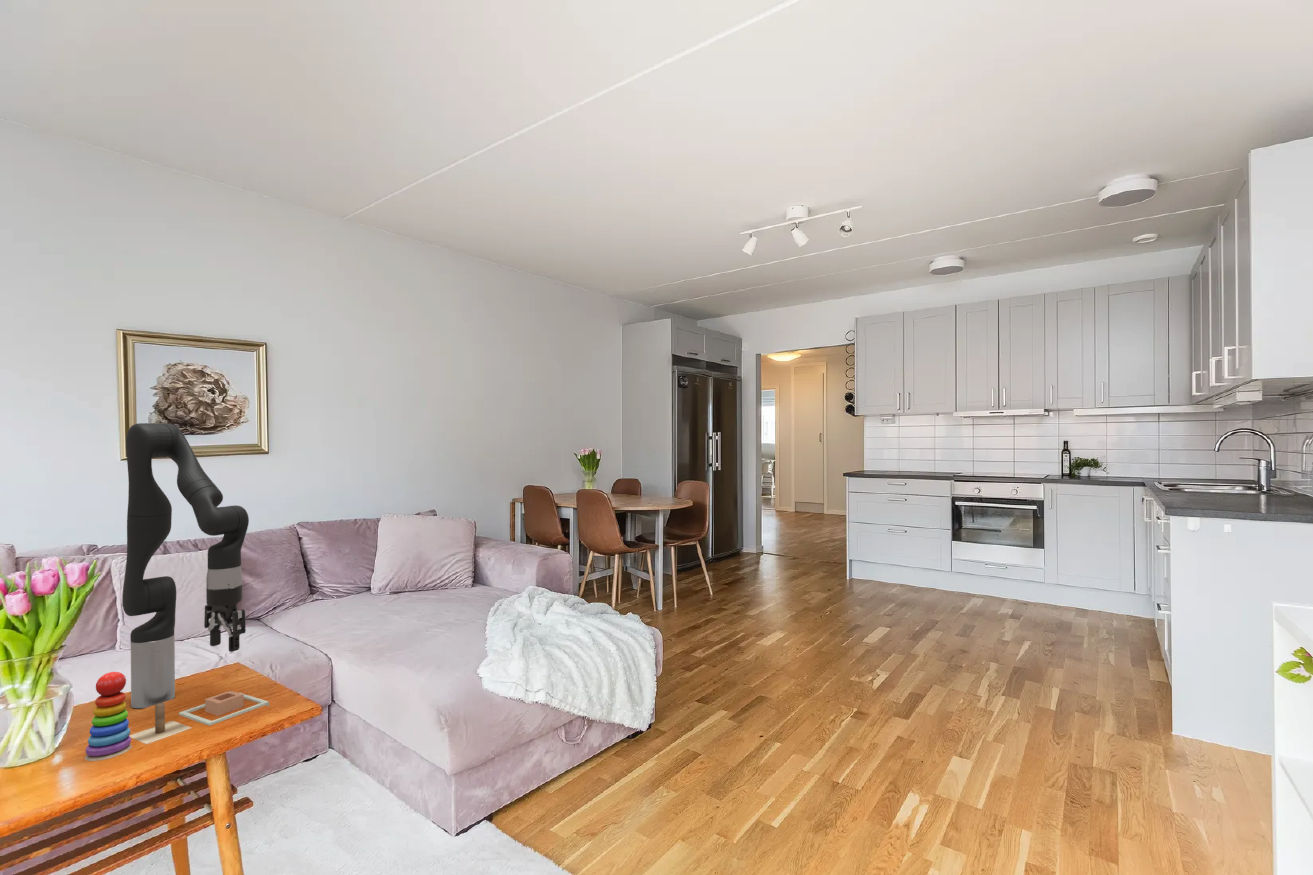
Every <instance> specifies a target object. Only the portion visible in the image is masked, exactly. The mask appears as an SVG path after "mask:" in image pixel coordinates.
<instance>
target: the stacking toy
mask: <svg viewBox="0 0 1313 875" xmlns="http://www.w3.org/2000/svg"><path fill="white" fill-rule="evenodd" d="M126 684H127V678H126V676H125V675H124V674H123V673H122V672H119V671H109V672H106V673H104V674H103V675H102V676H100V677H99V678H98V680H97V681H96V684H95V691H96V692H97V693H98V695H99V696H98V697H96V699H95V700H94V701H95V702H94V704H95V706H96V707H95V708H93V712H92V713H93V717H92V719H91V723H92V726H91V727H90V729H89V734H90V735H89V737H88V739H87V743H88V745H87V746H86V748H85V756H84V760H86V761H87V762H97V761H104V760H107V759H112V758H116V757H117V756H120V755H123V754H125V753H126V752H128V751H130V750H131V749H132V744H131V743H132V738H131V737H130V736H129V735H131V734H130V733H131V728H130V727H129V724H130V721H129V719H128V715H129V712H128V711H127V710H126V708H127V702H125V700H126V697H127V696H126V694H125V692H123V691H122V690H124V688H125V686H126Z"/></svg>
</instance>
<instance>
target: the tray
mask: <svg viewBox="0 0 1313 875" xmlns="http://www.w3.org/2000/svg"><path fill="white" fill-rule="evenodd" d="M237 693H240V694H244V700H246V701H249V702H253V703H256V704H254V705H252V706H249V707H246V708H244V709H240V710H239V711H235V712H233V713H232V712H231V713H230V714H227V715H223V716H221V717H218V718H216V719H214V720H211V719H207V718H204V717H202V716H198V715H195V714H193V712H195V711H199V710H201V709H205V703H202V704H200V705H198V706H194V707H191V708H188V709H185V710H183V711H180V712H178V715H179V716H181V717H184V718H187V719H190V720H192V721H194V722H198V723H200V724H203V725H206V726H212V725H215V724H218V723H220V722H223V721H226V720H228V719H233V718H234V717H237V716H239V715H240V716H241V715H242V714H245V713H247V712H250V711H251V712H252V711H253V710H257V709H259V708H262V707H264V706H266V707H270V701H267V700H264V699H261V698H258V697H255V696H252V695H248V694H245V693H242V692H237Z"/></svg>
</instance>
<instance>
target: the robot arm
mask: <svg viewBox="0 0 1313 875" xmlns="http://www.w3.org/2000/svg"><path fill="white" fill-rule="evenodd" d="M125 450H126V452H125V453H126V462H127V474H128V492H127V493H128V498H127V499H128V501H127V511H126V513H127V514H126V562H125V563H126V564H125V571H124V577H123V578H124V579H123V586H122V597H121V599H122V600H121V602H122V609H123V611H124V613H125V615H127V616H128V617H137V616H142V615H148V614H153V613H155V615H153V616H152V617H151V618H150V619H149V620H148V621H146V622H144V623H142V624H140V625H138V626H136V627H134V629H132V630H131V632H130V639H129V640H130V707H131V708H133V709H147V708H150V707H152V706H155V704H158V703H166V702H168V701H172V700H174V699H175V697H176V695H175V694H176V664H175V663H176V658H175V657H176V653H175V652H176V650H175V649H176V647H175V645H176V644H175V628H176V609H177V608H176V607H177V586H176V582H175V580H174V578H172V576H169V575H168V576H167V575H166V576H158V577H151V578H144V577H145V576H144V575H145V572H146V569H147V566H148V564H149V562H150V560H151V559H152V557H153V556H154V555H155V554H156V552H157V551H158V550H159V548H160V547H161V546H162V545H163V543H164V542H165V540H167V538H168V536H169V534H170V533H171V529H172V517H173V516H172V514H173V512H172V510H173V509H172V504H171V503H172V502H170V500H169V498H168V497H167V495H166V494H165V493H164V491H163V490H162V489H161V487H160V486H159V484H158V483H157V481H156V480H155V478H154V474H153V473H154V472H153V466H152V463H153V461H152V459H155V458H170V459H171V460H172V461H173V462H174V463H175V464H176V466H177V475H176V476H177V477H176V485H177V488H178V490H179V492H180V494H181V495H182V496H183V498H184V499H185V500H186V501H187V502H188V504H189V506H191V507H192V510H193V513H194V516H195V519H196V522H197V526H198V527H199V529H200V531H201V532H202V533H204V534H206V535H208V536H211V537H212V536H216V537H217V536H222V535H223V536H222V538H221V540H220V541H219V542H217V543H215V544H212V545H211V546H209V548H208V550H207V572H206V581H205V582H206V587H205V588H206V591H205V592H206V605H205V606H204V619H203V620H204V621H203V623H204V624H203V627H204V628H205V629H207V631H208V632H209V645H210V647H216V646H219V645H221V643H222V640H221V639H222V637H221V636H222V632H221V631H222V630H221V628H222V627H223V629H224V631H226V632H227V634H228V651H229V652H230V653H231V652H235V651H236V652H237V651H238V650H240V649H241V648H240V647H241V646H240V635H242V634H243V635H244V634H245V633H246V632H247V630H246V629H247V628H246V611H245V609H238V607H237V605H238V604H239V603H240V602H241V601H242V600H243V571H242V548H243V545H244V542H245V537H246V534H247V533H248V532H247V531H248V528H249V521H250V520H249V519H250V518H249V514H248V512H247V510H246V509H245V508H244V507H243V506H241V505H235V504H234V505H227V506H219V505H221V504H222V503H223V499H224V495H223V493H222V491H221V490H220V489H219V487H218V486H217V485H216V484H215V483H214V482H213V480H211V478H210V477H209V476H208V475H207V473H206V472H205V471H204V469H203V468H202V466H201V464H200V462H199V460H198V458H197V456H196V454H195V452H194V451H193V449H192V447H191V445H190V444H189V442H188V440H187V437H186V436H185V434H184V433H183V431H182V430H181V429H180V428H179V426H177V425H175V424H173V423H169V422H168V423H165V422H164V423H163V422H158V423H155V422H154V423H153V422H151V423H150V422H149V423H148V422H146V423H142V422H141V423H134V424H132V425H131V426H130V427H129V428H128V430H127V434H126V438H125Z"/></svg>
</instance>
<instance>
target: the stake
mask: <svg viewBox="0 0 1313 875" xmlns="http://www.w3.org/2000/svg"><path fill="white" fill-rule="evenodd" d="M165 708H166V702H162V703H158V704H155V705H154V726H153V727H150V728H146V729H144V730H141V731H138V732H134V733H132V734H129V736H130V737H131V739H133V740H135V741H138V742H140V743H142V744H144V745H149V744H152V743H154V742H156V741H160V740H162V739H163V740H164V739H166V738H168V737H171V736H174V735H176V734H179V733H182V732H185V731H187V730H190V729H192V727H191V726H188V725H186V724H183V723H181V722H178V721H175V720H170V721H167V722H166V709H165Z"/></svg>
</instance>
